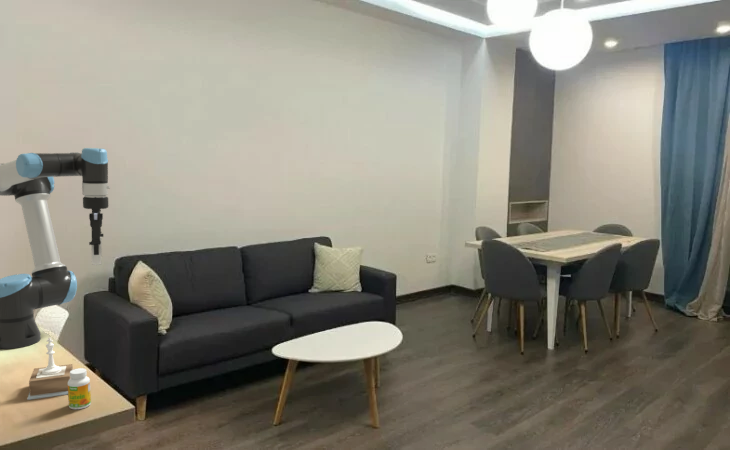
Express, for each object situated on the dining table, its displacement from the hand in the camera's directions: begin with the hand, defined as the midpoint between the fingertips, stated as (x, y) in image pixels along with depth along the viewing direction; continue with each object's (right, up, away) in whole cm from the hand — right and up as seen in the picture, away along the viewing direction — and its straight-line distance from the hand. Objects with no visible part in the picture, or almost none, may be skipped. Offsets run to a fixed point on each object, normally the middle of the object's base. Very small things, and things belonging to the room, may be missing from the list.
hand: (97, 260), depth 192 cm
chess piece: (-1, -30, -25) cm, 40 cm away
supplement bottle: (+12, -37, -35) cm, 52 cm away
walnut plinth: (-1, -35, -25) cm, 43 cm away
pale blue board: (-3, -35, -22) cm, 41 cm away
